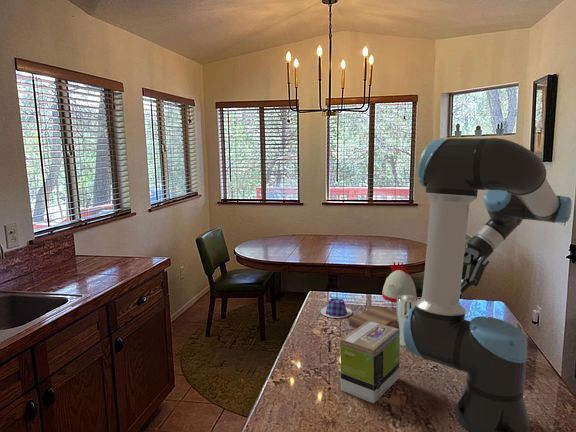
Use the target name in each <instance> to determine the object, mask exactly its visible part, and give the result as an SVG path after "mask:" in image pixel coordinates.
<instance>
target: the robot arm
mask: <svg viewBox="0 0 576 432" xmlns="http://www.w3.org/2000/svg"><path fill="white" fill-rule="evenodd" d="M417 177H418V182H419V185H421V186H422V187H423V188H425V195H426V197H427V198H428V199H429V200H430V211H429V219H428V220H429V221H428V233H427V243H426V253H425V264H424V271H423V273H424V276H423V285H422V293H421V298H418V299H419V300H418V301H417V302H415V307H412V308H411V309H410V310H409V311H408V312H407V314H406V319H405V320H404V325H403V336H404V341H405V344H406V346H405V347H406V349H407V350H408V351H409V352H410V353H411V354H412V355H415V356H417V357H420V358H421V359H424V360H425V361H430V362H433V363H436V364H439V365H441V366H445V367H448V368H451V369H453V370H454V369H455V370H457V371H460V372H463V373H465V374H466V383H465V385H464V388H463V391H462V392H461V395H460V396H459V398H458V401H457V404H456V413H455V414H456V419H457V421H458V422H459V423H460V425H461V426H462V427H463V428H464V429H465V430H467V431H468V432H530V427H531V421H530V417H529V414H528V413H529V412H528V409H527V406H526V402H525V400H524V392H525V391H524V389H525V381H526V380H525V379H526V368H527V361H528V357H529V356H528V355H529V354H528V340H527V337H526V335H525V334H524V332H523V331H521V330H520V328H518V327H517V326H515V325H513V324H512V323H510V322H508V321H506V320H503V319H500V318H496V317H492V316H489V317H487V316H476V317H474V318H472V319H471V320H467V319H465V317H466V309H465V308H464V307H463V306H462V305H461V304H460V298H461V295H462V294H463V293H464V292H465V291H467V290H468V288H469V287H472V286H473V287H478V285H479V283H480V281H481V279H482V277H483V274H484V271H485V269H486V267H487V266H488V264H490V261H489V260H488V258H489V257H491V255H492V254H493V253H494V250H496V249H497V248H498V247H499V246H500V245H501V244H502V243H503V242H504V241H505V240H506V239H507V238H508V236H509V235H510V234H512V232H514V231H515V229H517V227H519V226H520V225H521V223H522V222H523V221H524V220H528V221H529V220H530V221H539V222H549V223H553V224H555V223H561V224H562V223H563V224H565V223H568V222H569V220H570V218H571V213H572V207H573V206H572V199H571V198H570V197H569V196H566V195H565V196H564V195H556V192H555V191H554V190H553V188H552V186H551V184H550V183H549V181H548V179H547V169H546V165H545V164H544V163H543V161H542V159H541V158H540V157H539V156H538V155H537V154H536V153H534V152H533V151H531V150H530V149H528V148H527V147H525V146H523V145H521V144H520V143H517V142H514V141H512V140H508V139H505V138H499V137H489V138H487V137H486V138H482V137H480V138H479V137H477V138H473V137H472V138H467V137H466V138H465V137H464V138H460V137H459V138H457V137H456V138H453V137H451V138H448V137H447V138H442V139H441V138H440V139H434V140H433V141H430V142H429V143H428V144H427V145H426V147H425V148H424V149H423V151H422V152H421V155H420V158H419V161H418V166H417ZM480 190H481V191H485V192H484V194H483V197H482V198H483V204H484V208H485V209H486V211H487V213H488V216H489V219H488V220H487V222H486V223H485V224H484V225H482V227H480V228H479V230H478V231H477V232H476V233H475V235H474V236H472V237H471V238H470V239H469V240H468V242H466V239H467V228H468V220H469V219H468V218H469V212H470V211H469V209H470V204H471V203H472V202H474V201H475V200H476V199H478V192H479V191H480ZM466 245H467V246H466ZM466 247H467V248H466ZM464 265H465V266H466V271H465V277H464V278H463V268H464Z"/></svg>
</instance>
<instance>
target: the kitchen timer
mask: <svg viewBox="0 0 576 432" xmlns="http://www.w3.org/2000/svg"><path fill="white" fill-rule="evenodd" d="M392 263H393V264H389V267H390V268H391V271H392V272H391V273H390V274H389V275H388V276H387V277H386V278H385V282H384V284H383V288H382V296H381V297H382V298H383V299H384V300H386V301H388V302H391V303H396V304H397V297H398V296H400V295H412V296H415V297H417V288H416V286H415V282H414V280H413V278H412V276H411V275H410V274H409V272H410V271H411V269H410V268H409V269H408V270H407V265H405V266H404V262H402V263H401V264H400V262H397V264H396V262H395V261H394V262H392Z"/></svg>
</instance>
